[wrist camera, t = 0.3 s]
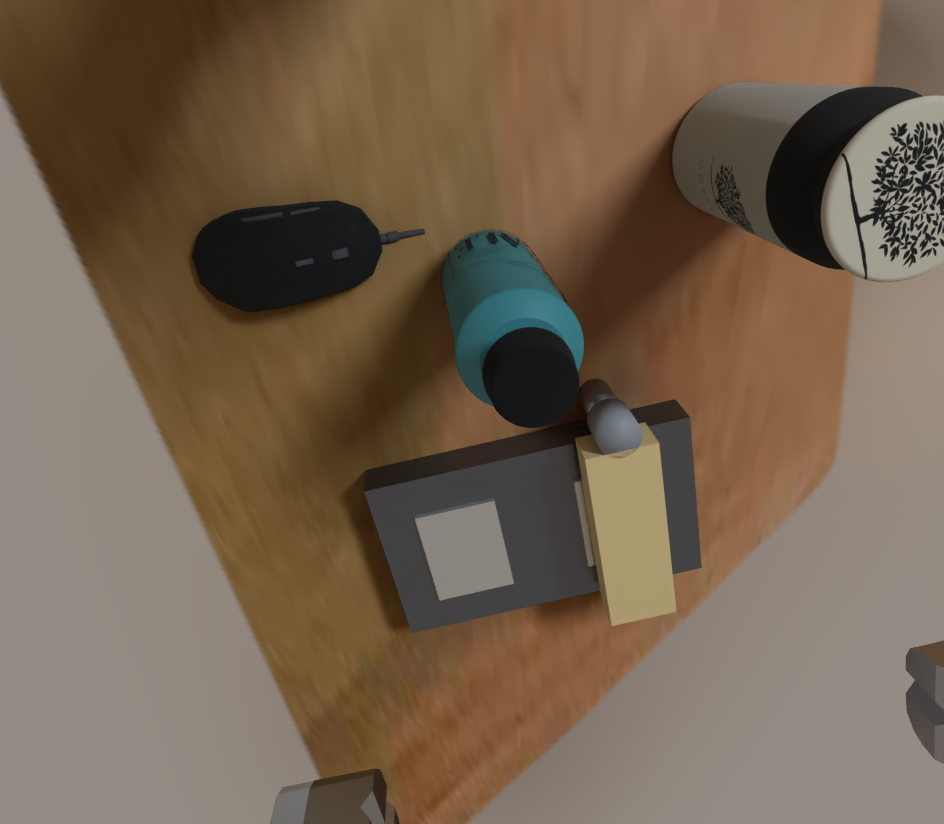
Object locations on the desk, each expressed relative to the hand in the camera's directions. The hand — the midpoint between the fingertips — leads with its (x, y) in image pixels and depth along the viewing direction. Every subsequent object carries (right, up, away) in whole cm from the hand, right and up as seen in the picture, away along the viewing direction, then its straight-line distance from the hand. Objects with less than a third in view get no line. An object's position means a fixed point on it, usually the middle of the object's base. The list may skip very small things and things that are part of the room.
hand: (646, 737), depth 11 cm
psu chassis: (+2, -2, +45) cm, 45 cm away
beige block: (+8, -2, +41) cm, 42 cm away
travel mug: (+14, +22, +35) cm, 43 cm away
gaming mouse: (-13, +16, +35) cm, 41 cm away
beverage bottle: (-2, +15, +37) cm, 39 cm away
